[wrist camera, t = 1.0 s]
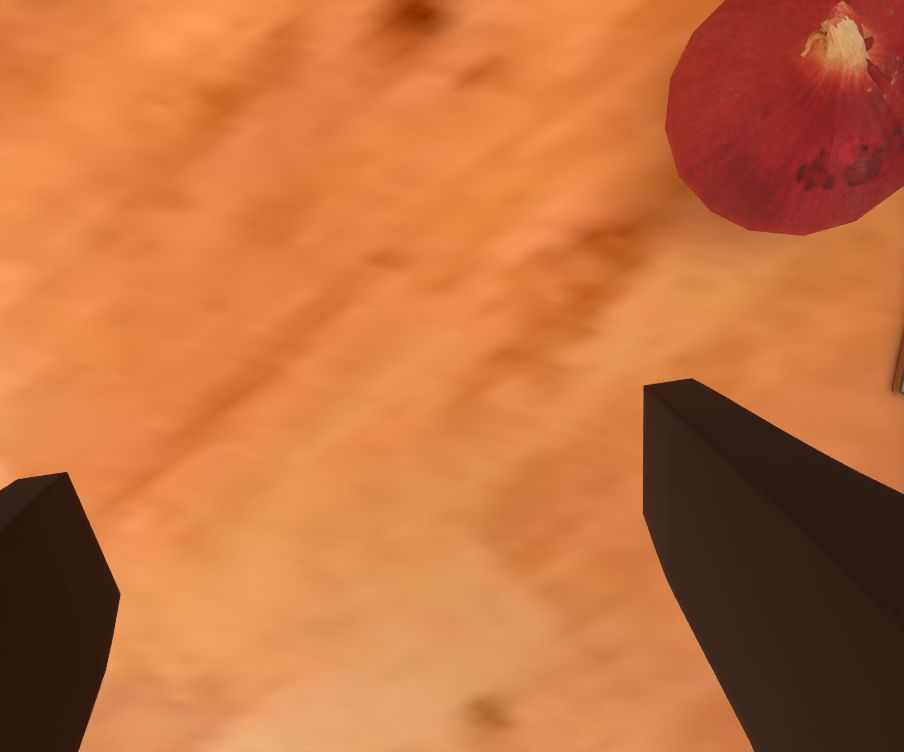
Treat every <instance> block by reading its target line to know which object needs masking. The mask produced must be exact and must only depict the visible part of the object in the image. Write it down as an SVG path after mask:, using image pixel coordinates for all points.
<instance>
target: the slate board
mask: <svg viewBox="0 0 904 752" xmlns="http://www.w3.org/2000/svg"><path fill="white" fill-rule="evenodd" d="M892 391H893V392H894V393H898V394H904V338H903V342H902V347H901V352H900V356H899V361H898V365H897V370H896V375H895V379H894V384H893V388H892Z"/></svg>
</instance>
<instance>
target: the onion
mask: <svg viewBox="0 0 904 752" xmlns="http://www.w3.org/2000/svg"><path fill="white" fill-rule="evenodd" d="M665 130H666V134H667V137H668V140H669V144H670V147H671V150H672V154H673V157H674V161H675V164H676V167H677V171H678V174H679V177H680V178H681V179H682V180H683V181H684V182H685V183H686V184H687V185H688V187H689V188H690V189H691V190H692V191H693V192H694V193H695V194H696V195H697V196H698V197H699V198H700V199H701V201H702V202H703V203H704V204H705V205H706V206H707V207H708V208H709V210H710V211H712V212H714V213H716V214H718V215H720V216H722V217H724V218H726V219H728V220H730V221H732V222H734V223H736V224H738V225H740V226H742V227H744V228H746V229H748V230H752V231H762V232H772V233H782V234H792V235H803V236H804V235H808V234H811V233H815V232H818V231H822V230H825V229H829V228H833V227H836V226H840V225H843V224H847V223H850V222H854V221H856V220H858V219H859V218H860V217H862V216H863V215H865V214H866V213H867V212H869V211H870V210H871V209H873V208H874V207H875V206H877V205H878V204H880V203H881V202H882V201H884V200H885V199H886V198H888V197H889V196H890V195H892V194H893V193H895V192H896V191H897V190H899V189H900V188H901V187H903V186H904V0H725V1H724V2H723V3H722V4H721V5H720V6H719V7H718V8H717V9H716V10H715V11H714V12H713V13H712V14H711V15H710V16H709V17H708V18H707V19H706V20H705V21H704V22H703V23H702V24H701V25H700V26H699V27H698V28H697V29H696V30H695V31H694V32H693V34H692V36H691V38H690V40H689V42H688V44H687V46H686V48H685V50H684V52H683V54H682V56H681V58H680V60H679V62H678V64H677V66H676V68H675V70H674V72H673V74H672V76H671V78H670V88H669V97H668V106H667V116H666V125H665Z"/></svg>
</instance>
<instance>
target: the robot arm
mask: <svg viewBox="0 0 904 752" xmlns="http://www.w3.org/2000/svg"><path fill="white" fill-rule="evenodd" d="M643 515H644V518H645V521H646V524H647V526H648V529H649V532H650V535H651V538H652V541H653V544H654V547H655V549H656V552H657V555H658V558H659V560H660V563H661V566H662V568H663V571H664V574H665V576H666V579H667V581H668V583H669V585H670V587H671V589H672V591H673V594H674V596H675V598H676V599H677V601H678V603H679V605H680V607H681V609H682V611H683V613H684V615H685V617H686V619H687V621H688V623H689V625H690V627H691V629H692V631H693V633H694V635H695V637H696V639H697V640H698V642H699V644H700V646H701V648H702V650H703V652H704V654H705V656H706V658H707V660H708V662H709V664H710V665H711V667H712V669H713V671H714V673H715V675H716V677H717V679H718V681H719V683H720V685H721V687H722V689H723V690H724V692H725V694H726V696H727V698H728V700H729V702H730V704H731V706H732V708H733V710H734V712H735V714H736V715H737V717H738V719H739V721H740V723H741V725H742V727H743V729H744V731H745V733H746V735H747V737H748V739H749V741H750V743H751V745H752V747H753V749H754V752H904V494H902V493H900V492H898V491H896V490H894V489H892V488H890V487H888V486H886V485H884V484H882V483H880V482H878V481H876V480H874V479H872V478H870V477H868V476H866V475H864V474H861V473H859V472H858V471H856V470H854V469H852V468H850V467H848V466H846V465H844V464H842V463H841V462H839V461H837V460H835V459H833V458H831V457H829V456H827V455H826V454H824V453H822V452H820V451H818V450H816V449H815V448H813V447H811V446H809V445H808V444H806V443H804V442H802V441H800V440H799V439H797V438H795V437H793V436H792V435H790V434H788V433H786V432H785V431H783V430H781V429H779V428H778V427H776V426H774V425H772V424H771V423H769V422H767V421H766V420H764V419H762V418H761V417H759V416H757V415H755V414H754V413H752V412H750V411H749V410H747V409H745V408H744V407H742V406H740V405H738V404H737V403H735V402H733V401H732V400H730V399H728V398H727V397H725V396H723V395H721V394H720V393H718V392H716V391H714V390H713V389H711V388H709V387H707V386H705V385H704V384H702V383H700V382H698V381H696V380H694V379H692V378H691V379H684V380H677V381H671V382H664V383H657V384H651V385H644V412H643ZM119 600H120V592H119V589H118V587H117V585H116V582H115V580H114V578H113V576H112V573H111V571H110V569H109V566H108V564H107V562H106V560H105V557H104V555H103V553H102V550H101V548H100V546H99V544H98V541H97V539H96V537H95V534H94V532H93V530H92V528H91V525H90V523H89V521H88V518H87V516H86V514H85V512H84V509H83V507H82V505H81V502H80V500H79V498H78V496H77V493H76V491H75V489H74V486H73V484H72V482H71V480H70V477H69V475H68V473H67V472H63V473H56V474H50V475H43V476H36V477H30V478H23V479H17V480H16V481H14V482H13V483H11V484H9V485H8V486H6V487H5V488H3V489H2V490H0V752H78V750H79V748H80V745H81V742H82V739H83V736H84V733H85V730H86V728H87V725H88V722H89V719H90V716H91V713H92V710H93V707H94V704H95V701H96V698H97V695H98V692H99V689H100V686H101V683H102V680H103V677H104V674H105V671H106V667H107V662H108V658H109V653H110V648H111V644H112V639H113V634H114V628H115V623H116V617H117V611H118V606H119Z"/></svg>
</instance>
